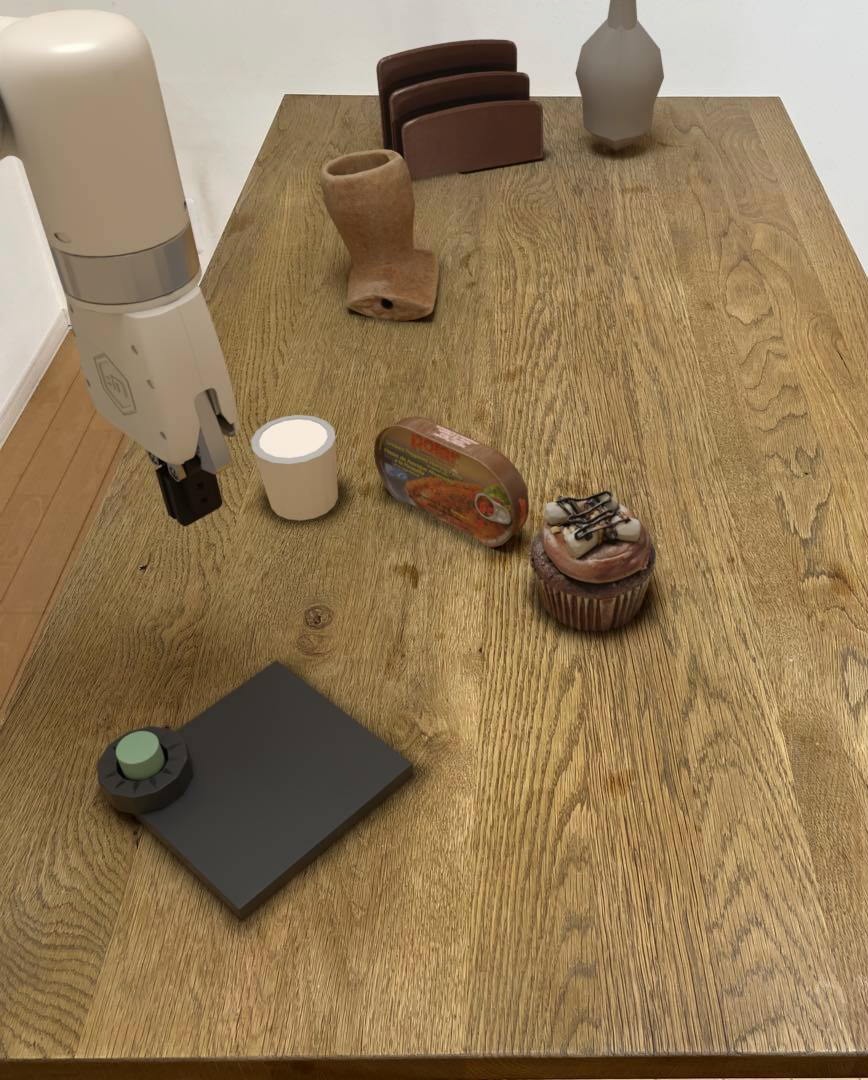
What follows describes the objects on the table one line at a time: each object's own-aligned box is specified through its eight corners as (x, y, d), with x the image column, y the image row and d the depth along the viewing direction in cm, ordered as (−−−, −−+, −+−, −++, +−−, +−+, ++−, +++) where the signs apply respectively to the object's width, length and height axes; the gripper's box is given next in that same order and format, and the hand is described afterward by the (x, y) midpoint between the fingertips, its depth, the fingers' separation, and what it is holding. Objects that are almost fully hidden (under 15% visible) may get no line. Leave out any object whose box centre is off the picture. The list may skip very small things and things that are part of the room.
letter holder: (383, 157, 152) (373, 50, 143) (516, 135, 158) (514, 31, 149) (406, 184, 145) (397, 74, 136) (544, 160, 151) (544, 53, 142)
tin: (375, 494, 96) (366, 413, 91) (400, 476, 98) (392, 396, 93) (511, 564, 89) (510, 482, 84) (535, 544, 91) (535, 462, 86)
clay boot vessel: (342, 261, 129) (326, 133, 119) (444, 262, 129) (436, 134, 119) (322, 328, 118) (302, 192, 108) (434, 328, 118) (424, 193, 108)
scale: (94, 797, 72) (79, 763, 70) (273, 670, 81) (265, 637, 78) (233, 934, 65) (222, 902, 63) (414, 779, 73) (410, 746, 71)
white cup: (322, 536, 92) (311, 469, 87) (249, 519, 94) (234, 452, 89) (358, 488, 97) (349, 422, 92) (288, 472, 99) (276, 407, 94)
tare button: (114, 765, 70) (107, 748, 69) (149, 741, 72) (143, 724, 71) (137, 788, 69) (131, 770, 68) (172, 762, 71) (166, 745, 69)
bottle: (638, 172, 148) (654, -78, 129) (562, 158, 152) (566, -88, 132) (668, 143, 156) (687, -98, 136) (594, 130, 160) (602, -106, 140)
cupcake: (678, 613, 85) (689, 512, 79) (573, 662, 81) (576, 561, 75) (607, 543, 91) (612, 445, 85) (506, 586, 87) (503, 486, 81)
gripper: (-2, 239, 63) (86, 490, 75) (142, 329, 56) (214, 593, 68) (115, 198, 67) (181, 442, 80) (264, 276, 60) (311, 534, 72)
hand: (196, 511), depth 74 cm, fingers closed
